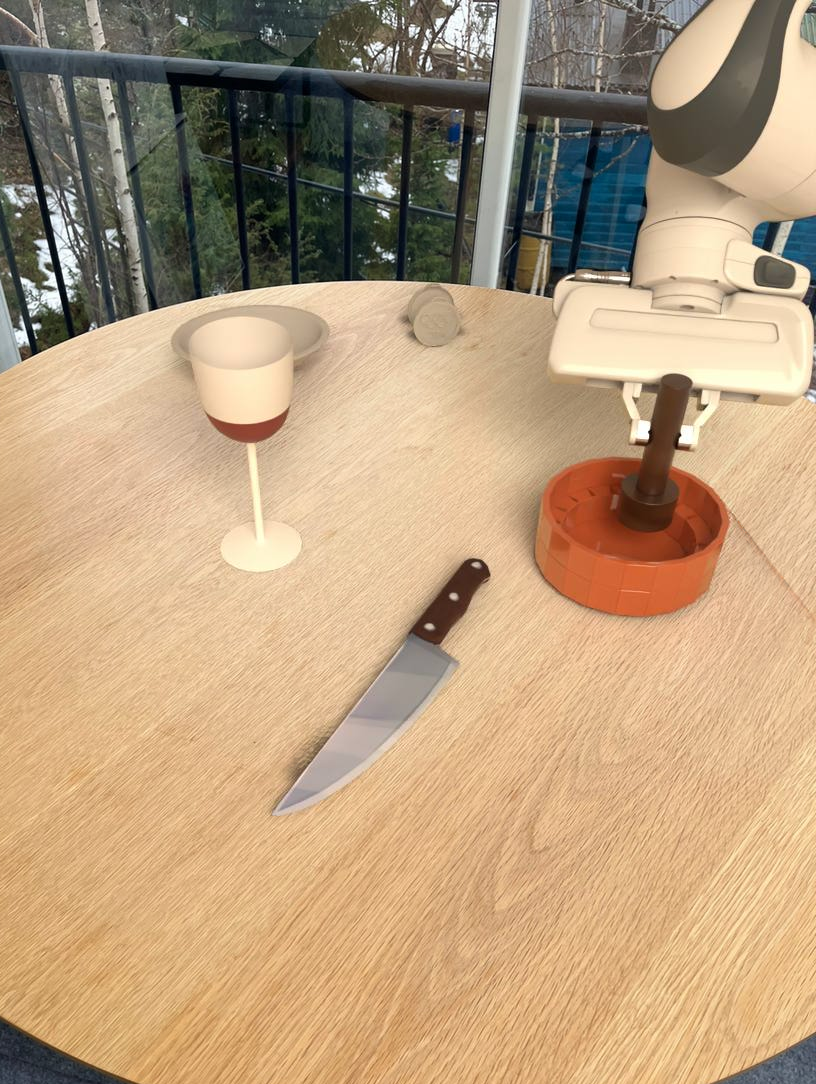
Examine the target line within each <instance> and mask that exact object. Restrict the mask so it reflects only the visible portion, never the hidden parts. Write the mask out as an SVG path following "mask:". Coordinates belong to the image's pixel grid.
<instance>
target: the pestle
mask: <svg viewBox="0 0 816 1084" xmlns="http://www.w3.org/2000/svg"><path fill="white" fill-rule="evenodd" d="M692 385H693V381H692V380H691V379H690V378H689V377H688V376H685V375H682V374H677V373H670V374H666V375H664V376H663V377H662V378H661V380H660V385H659V389H658V393H657V394H656V397H655V402H654V406H653V411H652V415H651V419H650V421H651V426H650V430H649V432H648V434H649V439H648V443H647V445H646V447H644V449H643V453H642V457H641V458H642V461H641V466H640V470H639V472H635V473H632V474H630V475H628V476H626V477H625V478H624V479H623V481H622V483H621V487H620V492H619V497H618V501H617V506H616V510H615V515H616V518H617V519H618V521H619V522H620V523H621V524H622V525H624V526H625V527H627V528H629V529H631V530H634V531H638V532H644V533H654V532H659V531H662V530H664V529H666V528H668V527H669V526H670V524H671V523H672V519H673V516H674V512H675V508H676V505H677V501H678V497H679V494H680V490H679V487H678V485H677V484H676V482H675V481H673V480H672V479H671V478H669V473H670V469H671V466H673V462H674V461H673V460H674V458H675V454H676V451H677V450H676V446H677V443H678V439H679V435H680V431H681V427H682V425H683V424H684V419H685V415H686V411H687V407H688V404H689V401H690V398H691V397H690V393H691V389H692Z"/></svg>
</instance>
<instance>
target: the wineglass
mask: <svg viewBox="0 0 816 1084" xmlns="http://www.w3.org/2000/svg"><path fill="white" fill-rule="evenodd" d="M188 346H189V352H190V359H191V362H190V363H191V369H192V373H193V378H194V382H195V387H196V391H197V394H198V398H199V402H200V404H201V407H202V410H203V411H204V413H205V416H206V417H207V418H208V420H209V422H210V423H211V425H212V426H213V427H214V428H215V430H217V432H219V433H221V435H223V436H225V437H226V438H228V439H230V440H233V441H236V442H239V443H244V444H246V452H247V453H246V454H247V461H248V464H247V465H248V474H249V481H250V491H251V501H252V510H253V519H254V520H253V521H248V522H245V523H242V524H240V525H237V526H235V527H233V528H232V529H231V530H229V531H228V532H227V533H225V535H224V537H223V538H222V540H221V542H220V546H219V550H220V554H221V557H222V559H224V561H225V562H226V563H227V564H228V565H230V566H232V567H234V568H235V569H238V570H242V571H246V572H249V573H250V572H252V573H253V572H256V573H257V572H258V573H261V572H262V573H264V572H270V571H274V570H278V569H280V568H284V567H286V566H287V565H289V564H290V563H292V562H293V561H294V560H295V559H296V558H298V556H299V554H300V553H301V551H302V548H303V547H302V546H303V540H302V537H301V534H300V533H299V532H298V531H297V530H296V529H295V528H294V527H292V526H291V525H289V524H286V523H284V522H281V521H277V520H272V519H267V520H266V519H264V516H263V507H262V505H263V504H262V496H261V486H260V475H259V465H258V456H257V455H258V453H257V446H256V444H257V443H260V442H263V441H265V440H268V439H270V438H271V437H273V436H274V435H275V434H276V433H278V431H280V430H281V428H282V427H283V426H284V424H285V422H286V420H287V418H288V415H289V412H290V407H291V404H292V398H293V393H294V392H293V391H294V389H293V388H294V368H293V339H292V336H291V334H290V333H289V331H288V330H287V329H286V328H284V327H283V326H281V325H280V324H278V323H275V322H273V321H270V320H267V319H262V318H256V317H230V318H224V319H220V320H216V321H213V322H210V323H208V324H206V325H204V326H202V327H201V328H199V329H198V330H196V331H195V332H194V333H193V335H192V336H191V337H190V340H189V345H188Z"/></svg>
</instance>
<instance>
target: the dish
mask: <svg viewBox="0 0 816 1084" xmlns="http://www.w3.org/2000/svg"><path fill="white" fill-rule="evenodd" d="M230 317H256V318H262V319H267V320H270V321H273V322H275V323H278V324H280V325H281V326H283V327H284V328H286V329H287V330H288V331H289V333H290V334H291V336H292V339H293V369H294V368H297V367H298V366H299V365H301V364H303V362H304V361H306V360H307V359H308V358H309V357H310V356H311V355H312V354H313V353H315V352H316V351H318V350H319V349H321V348H322V347H323V346H324V345H325V344H326V342H327V341H328V340H329V337H330V333H331V330H330V325H329V324H328V323H327V321H326V320H325V319H324V318H322V317H321V316H320V315H318V314H316V313H314V312H312V311H309V310H306V309H303V308H298V307H293V306H288V305H278V304H249V305H237V306H232V307H226V308H220V309H217V310H212V311H209V312H206V313H203V314H201V315H198V316H196V317H193V318H191V319H189V320H187V321H186V322H184V323H183V324H181V325H180V326H178V328H176V330H174V332H173V333H172V336H171V338H170V345H171V348H172V350H173V352H174V353H175V354H176V355H177V356H178V357H180V358H181V359H183V360H185V361H187V362H190V363H191V359H190V352H189V346H188V345H189V340H190V337H191V336H192V335H193V333H194V332H195V331H196V330H198V329H199V328H201V327H202V326H204V325H206V324H208V323H210V322H213V321H216V320H220V319H224V318H230Z"/></svg>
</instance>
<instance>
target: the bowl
mask: <svg viewBox="0 0 816 1084" xmlns="http://www.w3.org/2000/svg"><path fill="white" fill-rule="evenodd" d="M641 461H642V457H629V456H607V457H599V458H598V457H597V458H591V459H586V460H583V461H581V462H577V463H574V464H572V465H570V466H567V467H565V468H564V469H562V470H561V471H560V472H559V473H557V474H555V475H554V476H553V477H552V478H550V480H549V482H548V483H547V484H546V485H547V486H546V487H545V488H544V491H543V492H542V495H541V502H540V507H539V514H538V521H537V528H536V535H535V542H534V559H535V562H536V564H537V566H538V568H539V569H540V572H541V573H542V575H543V577H544V579H545V580H547V582H548V583H550V584H551V585H552V587H554V588H555V589H556V590H557V591H558V592H559V593H560V594H562V595H564V596H565V597H567V598H570V599H571V600H573V601H575V602H576V603H579V604H580V605H583V606H584V607H588V608H591V609H594V610H598V611H601V612H605V613H609V614H612V615H615V616H616V615H618V616H631V617H651V616H652V617H653V616H658V615H664V614H671V613H674V612H676V611H679V610H681V609H683V608H685V607H688V606H690V605H692V604H694V603H696V602H697V601H698V600H699V599H700V598H701V597H702V596H703V595H704V594H705V593H706V592H707V591H708V590H709V589H710V586H711V583H712V579H713V578H714V573H715V570H716V568H717V564H718V561H719V558H720V555H721V552H722V548H723V546H724V544H725V539H726V537H727V534H728V530H729V527H730V525H731V522H730V517H729V513H728V509H727V505H726V504H725V502H724V501H723V500H722V499H721V497H720V496H719V495H718V494H717V492H716V491H715V490H714V489H713V487H711V486H710V485H709V484H707V483H706V482H704V481H703V480H701V479H700V478H699V477H697V476H696V475H694V474H692V473H690V472H688V471H685V470H683V469H681V468H678V467H676V466H674V465H672V466H671V469H670V473H669V478H671V479H672V480H673V481H675V482H676V484H677V485H678V487H679V490H680V494H679V497H678V501H677V505H676V508H675V512H674V516H673V519H672V523H671V524H670V526H669V527H668V528H666V529H664V530H662V531H659V532H654V533H644V532H638V531H634V530H631V529H629V528H627V527H625V526H624V525H622V524H621V523H620V522H619V521H618V519H617V518H616V515H615V510H616V506H617V501H618V497H619V492H620V487H621V483H622V481H623V479H624V478H625V477H626V476H628V475H630V474H632V473H635V472H639V470H640V466H641Z"/></svg>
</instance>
